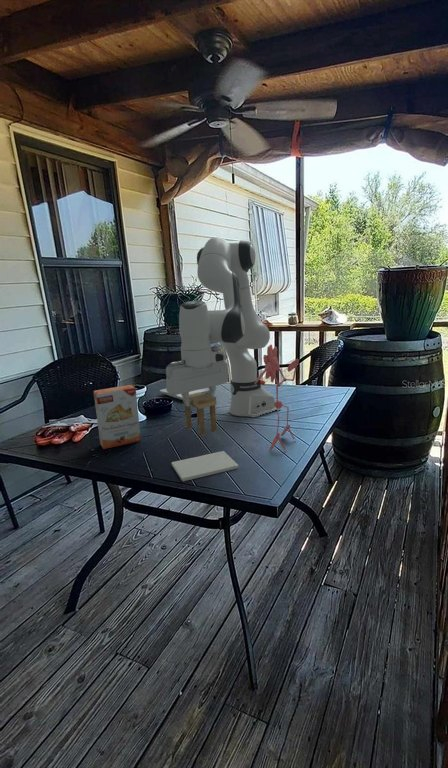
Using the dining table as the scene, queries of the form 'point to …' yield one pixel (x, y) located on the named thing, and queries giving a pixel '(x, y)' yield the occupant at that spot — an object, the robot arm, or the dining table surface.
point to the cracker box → (117, 416)
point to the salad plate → (179, 396)
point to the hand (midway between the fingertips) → (199, 403)
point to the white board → (204, 465)
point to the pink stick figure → (270, 370)
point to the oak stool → (201, 411)
